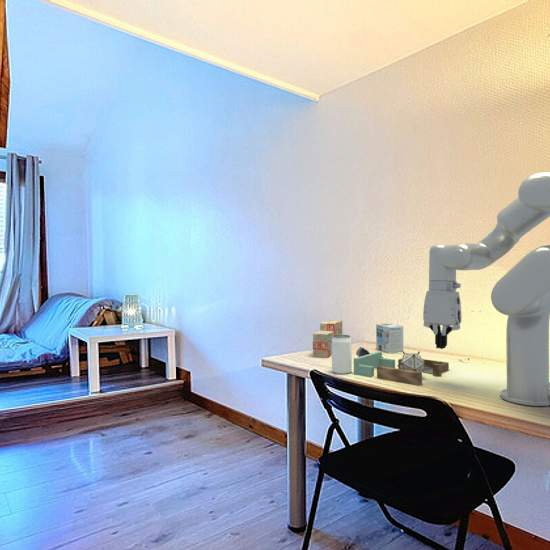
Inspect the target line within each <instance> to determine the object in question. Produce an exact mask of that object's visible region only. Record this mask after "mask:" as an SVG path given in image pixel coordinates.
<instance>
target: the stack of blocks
mask: <svg viewBox="0 0 550 550" xmlns="http://www.w3.org/2000/svg"><path fill="white" fill-rule="evenodd" d="M334 335H343V320H334V319H331V320H330V319H329V320H325V321H322V322H319V331H315V332H314V333H312V357H313V358H326V359H328V358H330V357H332V339H333V336H334Z"/></svg>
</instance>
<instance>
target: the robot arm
mask: <svg viewBox="0 0 550 550" xmlns="http://www.w3.org/2000/svg"><path fill="white" fill-rule="evenodd" d="M517 195H518V197H517V198H515V199H514V200H513V201H511V203H508V205H506V207H504V208H503V209H501V210H500V211H499V212H498V213H497V216H496V218H497V219H496V221H497V223H496V226H495V227H494V229H493V230H492V231H490V233H489V234H487V235H486V236H485V237H484V238H483V239H481V240H480V241H478V242H476V243H458V244H457V243H455V244H435V245H432V246H430V248H429V254H428V255H429V259H428V290H426V292H425V297H424V301H423V302H424V303H423V309H422V310H423V312H422V314H423V327H426V328H428V329H430V330H431V331H432V333H433V334H434V345H436V346H435V347H436V348H435V349H440V350H443V349H445V348H447V346H448V335H449V334H450V333H452V332H453V331H458V330H460V329H461V325H460V324H461V323H462V305H461V303H462V302H461V297H460V292H459V291H457V289H461V286H462V285H461V283H459V282H458V281H457V270H458V271H479V270H484V269H486V268H488V267H489V266H491V265H493V264H494V263H495V262H497V261H498V260H500V259H501V258H503V257H504V256H505V255H506V254H508V253H509V252H510V251H511V250H512V249H513V248H514V247H515V245H517V244H518V243H519V241H520V239H521V238H522V237H524V236H525V235H526V234H527V233H529V232H530V231H532V230H533V229H535V228H536V227H538V226H539V225H540V224H542V223H543V222H544V221H545V220H547V219H548V218H549V217H550V171H545V172H544V171H543V172H542V171H540V172H537V173H533V174H531V175H529V176H527V177H526V178H525V179H524V180H523V181H522V182H521V183H520V185H519V187H518V192H517ZM490 300H491V304H492V306H493V308H494V309H495V310H496V311H497V312H499V313H500V314H501V315H504V316H507V321H506V329H505V330H506V331H505V332H506V337H505V339H506V341H505V342H506V346H505V347H506V348H505V349H506V356H505V357H506V388H505V389H502V390H501V391H500V394H499V396H500V397H501V398H502V400H505V401H507V402H509V403H513V404H517V405H522V406H532V407H547V406H548V407H550V406H549V405H550V341H549V340H550V244H547V245H541V246H538V247H536V248H534V249H533V250H531V251H530V252H528V253H526V255H524V257H522V258H521V259H520V260H518V262H517V263H516V264H515V265H514V266H513V267H511V268H510V270H508V271H507V272H506V273H505V274H504V275H503V276H502V277H501V278H500V279H499V280H498V281H497V282H496V283H495V284H494V285H493V288H492V290H491V294H490ZM441 326H442V327H441Z"/></svg>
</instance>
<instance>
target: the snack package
mask: <svg viewBox="0 0 550 550" xmlns="http://www.w3.org/2000/svg"><path fill="white" fill-rule="evenodd" d="M371 353H372V352H369V350H368V349H366V348H364V347H361V346H360V347H359V348H358V349H357V350H356V352H355V354H356V356H357V357H361V356H364V355H368V354H371ZM382 358H384V357H383V356H382Z"/></svg>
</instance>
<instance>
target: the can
mask: <svg viewBox="0 0 550 550" xmlns="http://www.w3.org/2000/svg"><path fill="white" fill-rule="evenodd" d="M352 357H353V355H352V339H351V336H350V335H348V334H342V335H334V336H333V339H332V356H331V371H332V373H334V374H336V373H337V375H347V374H346V373H349V374H351V373H350V372H352V371H353V369H352V367H353V362H352V359H353V358H352Z"/></svg>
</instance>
